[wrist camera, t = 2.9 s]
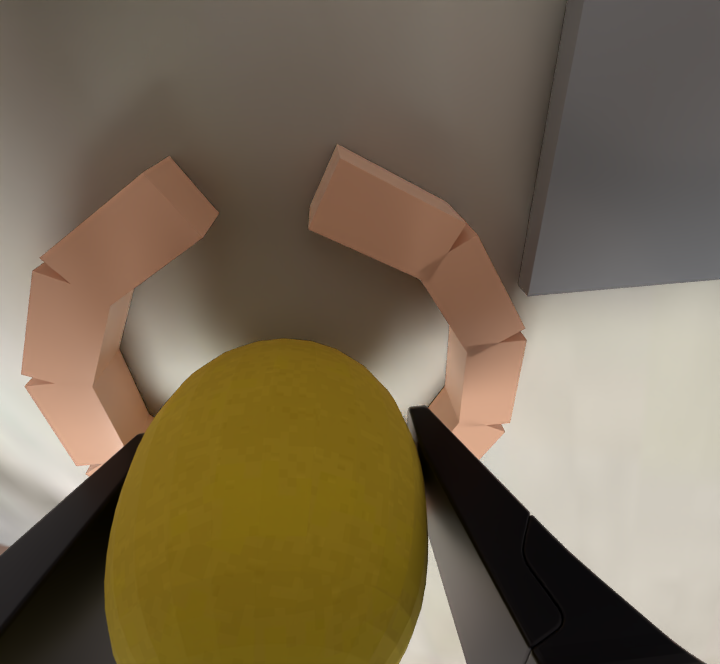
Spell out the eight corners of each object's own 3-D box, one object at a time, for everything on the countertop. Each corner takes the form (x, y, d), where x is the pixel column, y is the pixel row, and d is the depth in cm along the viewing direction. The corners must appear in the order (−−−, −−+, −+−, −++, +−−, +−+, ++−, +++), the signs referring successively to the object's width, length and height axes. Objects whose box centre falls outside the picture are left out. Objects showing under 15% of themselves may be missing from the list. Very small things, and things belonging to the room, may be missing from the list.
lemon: (185, 428, 12) (27, 862, 6) (191, 257, 9) (-118, 725, 3) (365, 447, 13) (411, 830, 7) (418, 299, 11) (590, 709, 4)
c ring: (531, 129, 9) (566, 141, 7) (476, 479, 15) (490, 518, 14) (-39, 170, 8) (-104, 190, 7) (151, 513, 14) (135, 556, 13)
